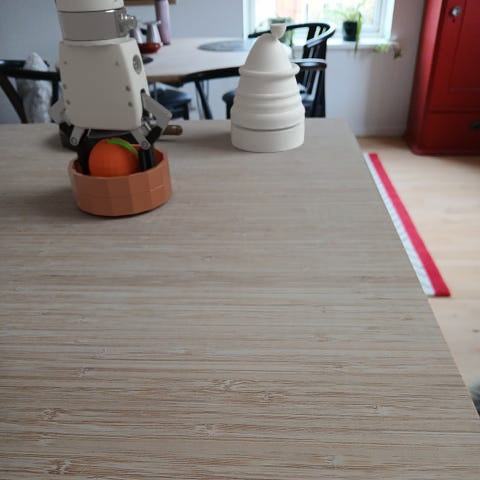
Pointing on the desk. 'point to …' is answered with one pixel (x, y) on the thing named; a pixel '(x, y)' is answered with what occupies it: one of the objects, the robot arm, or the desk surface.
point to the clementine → (113, 159)
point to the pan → (117, 135)
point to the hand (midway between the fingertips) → (119, 172)
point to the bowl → (122, 188)
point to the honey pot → (268, 99)
